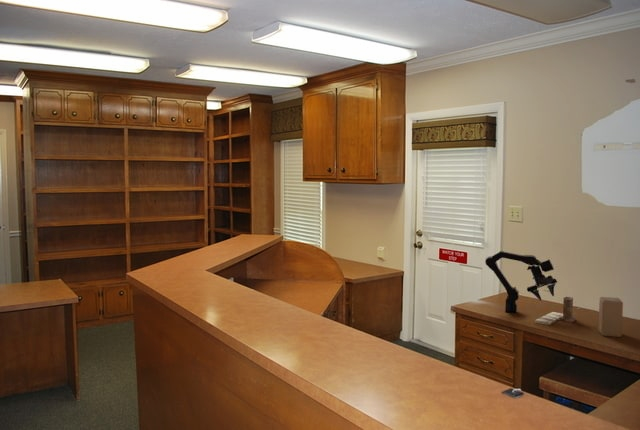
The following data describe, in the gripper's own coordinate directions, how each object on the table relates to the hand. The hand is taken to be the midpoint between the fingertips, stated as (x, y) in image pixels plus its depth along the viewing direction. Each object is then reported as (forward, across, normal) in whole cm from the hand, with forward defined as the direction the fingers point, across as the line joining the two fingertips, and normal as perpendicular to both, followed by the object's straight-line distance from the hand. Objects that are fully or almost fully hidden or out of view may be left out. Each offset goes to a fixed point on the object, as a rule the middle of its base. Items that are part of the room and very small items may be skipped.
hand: (547, 298), depth 326 cm
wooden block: (+26, +6, -35) cm, 44 cm away
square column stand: (+15, +2, -8) cm, 17 cm away
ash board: (+12, -6, -4) cm, 14 cm away
